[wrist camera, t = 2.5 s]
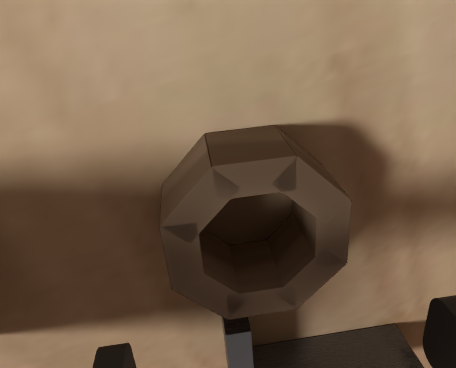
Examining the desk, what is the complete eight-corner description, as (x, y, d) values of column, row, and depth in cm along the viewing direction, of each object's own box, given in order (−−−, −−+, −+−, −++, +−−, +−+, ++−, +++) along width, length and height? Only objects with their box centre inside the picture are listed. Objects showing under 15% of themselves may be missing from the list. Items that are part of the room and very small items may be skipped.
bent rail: (217, 283, 18) (225, 335, 15) (406, 255, 18) (445, 300, 16) (228, 376, 21) (237, 434, 18) (390, 349, 21) (421, 401, 19)
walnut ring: (153, 139, 14) (149, 174, 12) (322, 119, 15) (355, 148, 12) (177, 274, 17) (178, 327, 15) (318, 254, 18) (344, 301, 15)
